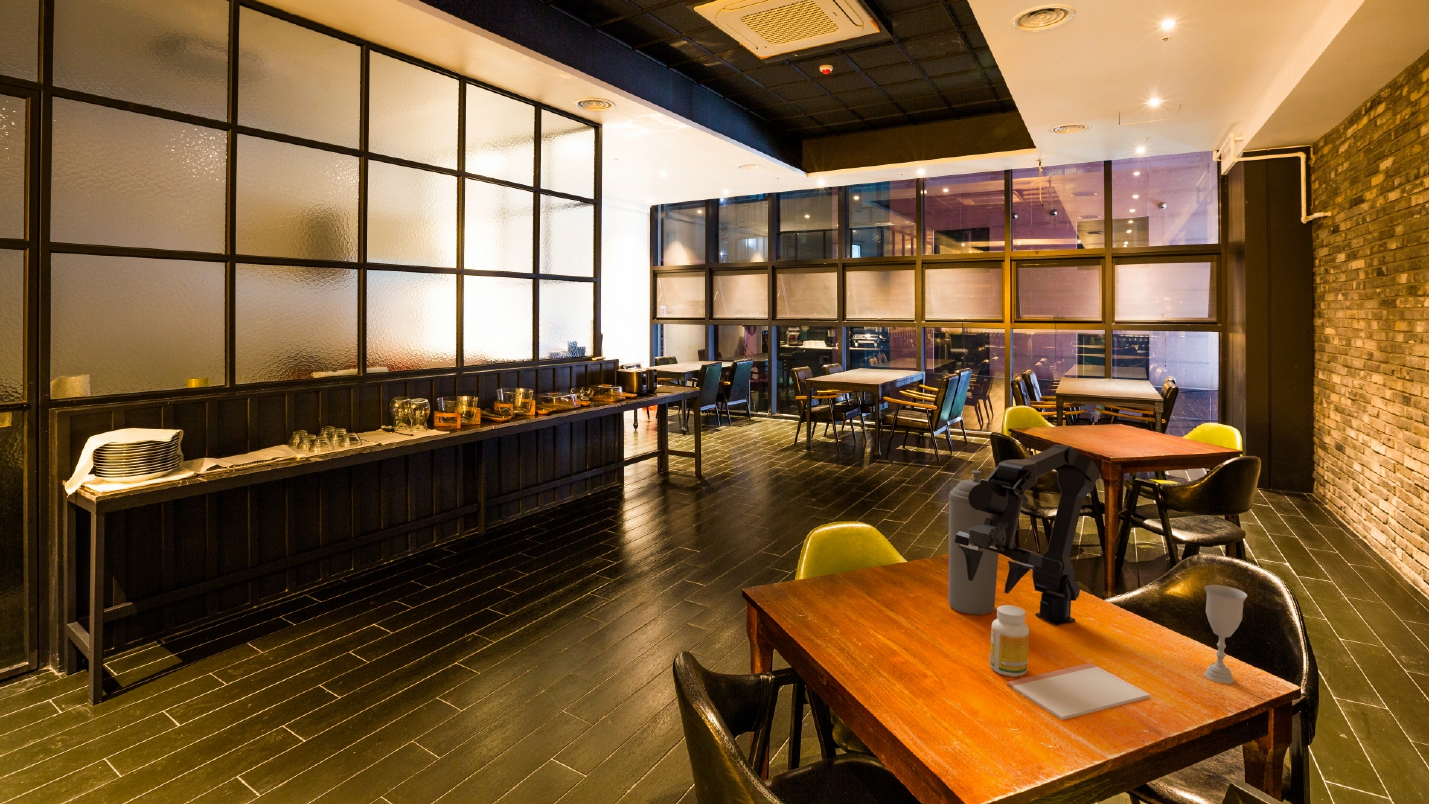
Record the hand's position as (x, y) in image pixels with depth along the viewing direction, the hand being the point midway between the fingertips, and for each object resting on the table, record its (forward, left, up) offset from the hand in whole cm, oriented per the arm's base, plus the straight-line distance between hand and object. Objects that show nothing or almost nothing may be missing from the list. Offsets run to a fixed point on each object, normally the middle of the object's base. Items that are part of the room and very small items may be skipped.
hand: (987, 586), depth 159 cm
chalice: (-34, +28, -14) cm, 46 cm away
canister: (-12, -19, -14) cm, 26 cm away
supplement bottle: (+3, +10, -14) cm, 18 cm away
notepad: (-3, +22, -14) cm, 26 cm away
